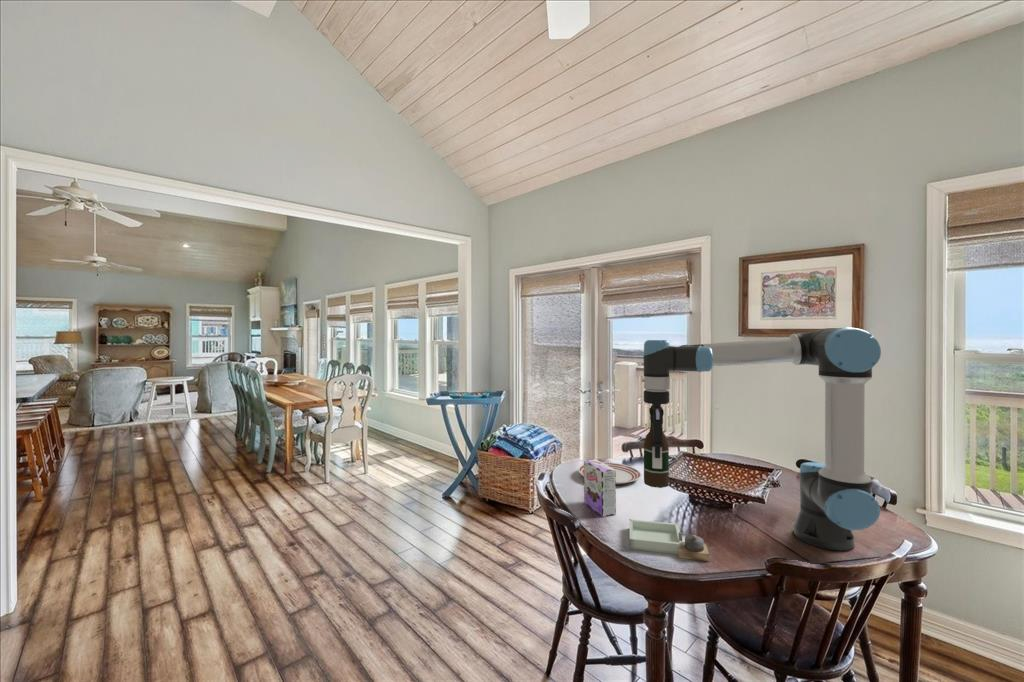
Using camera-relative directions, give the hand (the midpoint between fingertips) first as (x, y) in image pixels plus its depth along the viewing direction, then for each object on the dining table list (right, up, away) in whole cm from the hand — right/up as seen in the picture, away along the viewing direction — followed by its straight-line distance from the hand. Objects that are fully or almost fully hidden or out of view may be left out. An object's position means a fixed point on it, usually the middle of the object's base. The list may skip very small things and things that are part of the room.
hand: (656, 464), depth 132 cm
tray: (0, -24, 0) cm, 24 cm away
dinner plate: (-1, -24, +59) cm, 64 cm away
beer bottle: (0, -6, 0) cm, 6 cm away
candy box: (-12, -24, +25) cm, 37 cm away
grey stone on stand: (+8, -24, -8) cm, 26 cm away
